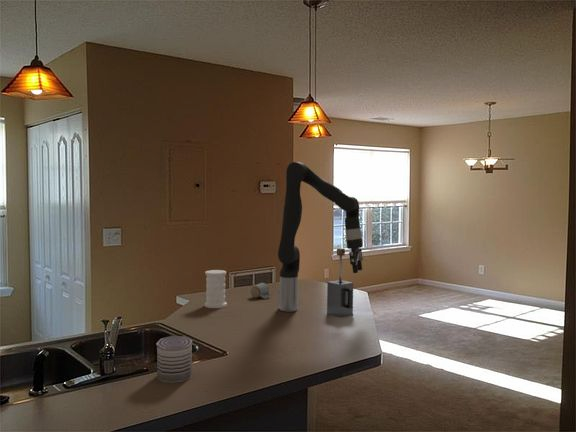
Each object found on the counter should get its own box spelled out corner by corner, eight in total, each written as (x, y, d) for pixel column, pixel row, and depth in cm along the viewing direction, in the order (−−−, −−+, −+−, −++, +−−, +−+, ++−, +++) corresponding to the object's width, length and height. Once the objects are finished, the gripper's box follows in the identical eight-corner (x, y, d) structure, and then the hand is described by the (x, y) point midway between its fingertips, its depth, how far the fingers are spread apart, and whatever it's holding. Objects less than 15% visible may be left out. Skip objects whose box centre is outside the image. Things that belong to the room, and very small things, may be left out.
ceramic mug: (249, 297, 288) (249, 284, 288) (258, 294, 295) (258, 281, 295) (264, 300, 282) (264, 286, 282) (273, 297, 289) (273, 284, 289)
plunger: (330, 289, 253) (331, 248, 251) (340, 287, 257) (340, 247, 256) (340, 291, 247) (340, 250, 246) (349, 290, 252) (350, 249, 250)
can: (194, 370, 175) (194, 335, 174) (189, 383, 163) (189, 346, 163) (161, 370, 174) (160, 335, 174) (153, 383, 163) (153, 346, 162)
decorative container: (229, 307, 265) (229, 272, 264) (207, 308, 261) (207, 274, 260) (223, 302, 276) (223, 269, 275) (202, 304, 271) (202, 270, 270)
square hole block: (326, 313, 254) (327, 281, 253) (339, 311, 259) (340, 279, 258) (344, 318, 244) (344, 285, 243) (357, 315, 250) (357, 283, 249)
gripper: (350, 237, 254) (354, 269, 254) (342, 240, 240) (346, 274, 240) (365, 236, 251) (368, 268, 251) (357, 238, 238) (361, 273, 238)
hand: (357, 271), depth 246 cm, fingers open, 8 cm apart
